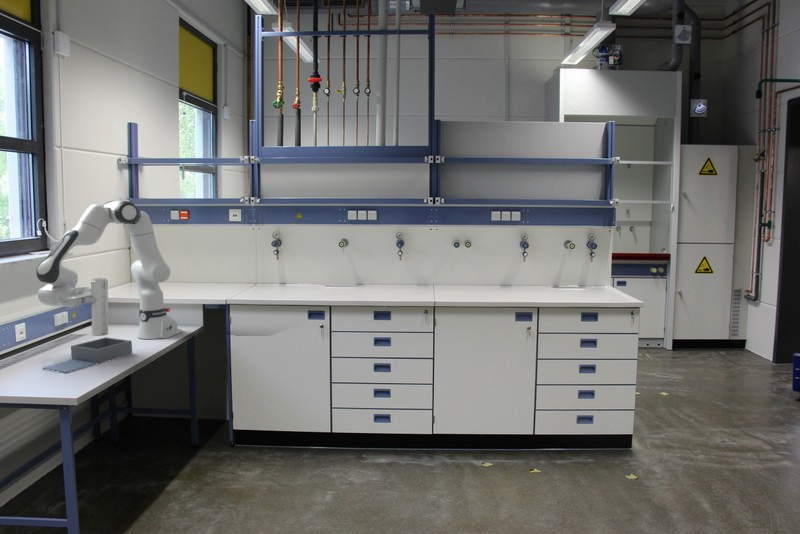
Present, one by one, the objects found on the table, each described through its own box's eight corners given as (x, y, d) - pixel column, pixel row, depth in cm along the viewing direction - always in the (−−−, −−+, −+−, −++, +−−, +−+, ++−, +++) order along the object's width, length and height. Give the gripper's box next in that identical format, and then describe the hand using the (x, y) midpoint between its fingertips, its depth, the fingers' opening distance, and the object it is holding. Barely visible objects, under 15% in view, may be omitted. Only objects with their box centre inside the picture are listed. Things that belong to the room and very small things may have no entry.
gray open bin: (106, 349, 275) (105, 337, 275) (132, 353, 269) (131, 340, 269) (71, 359, 259) (70, 346, 258) (98, 363, 253) (97, 350, 252)
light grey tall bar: (91, 336, 258) (90, 279, 256) (92, 333, 264) (91, 277, 262) (108, 335, 261) (107, 278, 258) (108, 332, 267) (108, 277, 264)
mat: (72, 360, 257) (72, 359, 257) (96, 364, 252) (96, 363, 252) (42, 369, 245) (42, 367, 244) (66, 373, 239) (66, 371, 239)
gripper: (55, 294, 253) (84, 295, 250) (89, 286, 273) (116, 287, 270) (56, 308, 254) (85, 310, 251) (90, 300, 274) (116, 301, 271)
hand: (101, 298), depth 261 cm, fingers closed on light grey tall bar, 5 cm apart
